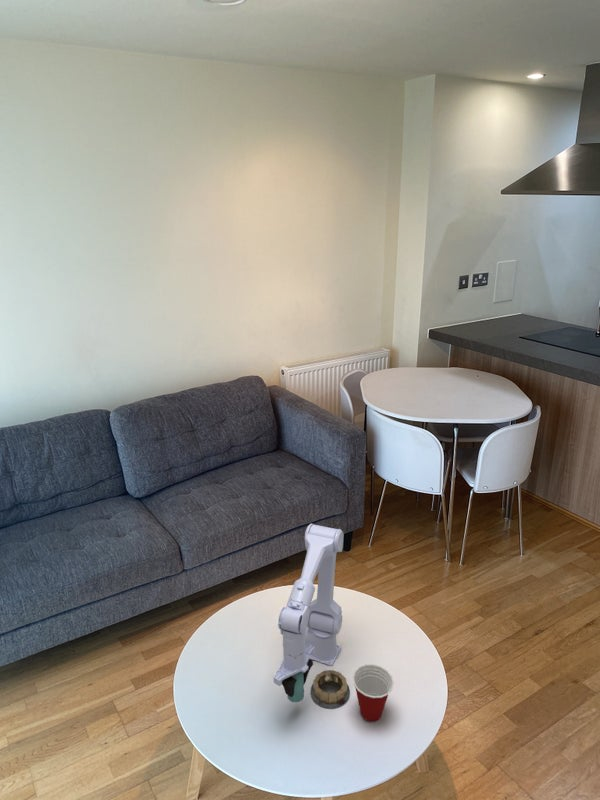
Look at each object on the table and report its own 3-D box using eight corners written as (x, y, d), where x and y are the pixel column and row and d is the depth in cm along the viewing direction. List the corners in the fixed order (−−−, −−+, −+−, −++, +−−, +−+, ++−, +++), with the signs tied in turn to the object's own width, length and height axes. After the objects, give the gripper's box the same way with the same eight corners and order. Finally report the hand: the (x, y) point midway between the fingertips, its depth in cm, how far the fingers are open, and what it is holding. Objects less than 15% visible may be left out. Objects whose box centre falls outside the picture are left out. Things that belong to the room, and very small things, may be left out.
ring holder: (304, 701, 163) (304, 691, 162) (319, 672, 173) (319, 663, 172) (341, 714, 159) (341, 704, 158) (355, 684, 168) (355, 675, 167)
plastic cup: (383, 737, 152) (384, 701, 148) (345, 720, 157) (345, 685, 153) (398, 706, 161) (399, 672, 157) (361, 691, 166) (362, 657, 162)
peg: (284, 699, 157) (283, 675, 154) (291, 687, 160) (290, 663, 158) (299, 704, 155) (299, 681, 152) (306, 692, 159) (306, 669, 156)
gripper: (287, 672, 144) (289, 714, 149) (323, 638, 155) (323, 678, 160) (266, 659, 149) (268, 700, 153) (302, 627, 159) (303, 666, 164)
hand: (295, 688), depth 157 cm, fingers closed on peg, 4 cm apart
